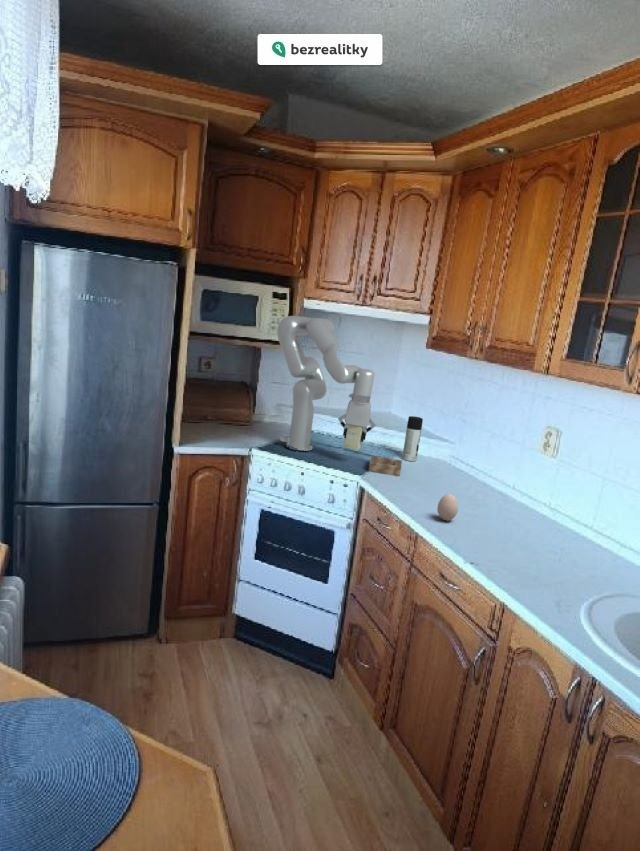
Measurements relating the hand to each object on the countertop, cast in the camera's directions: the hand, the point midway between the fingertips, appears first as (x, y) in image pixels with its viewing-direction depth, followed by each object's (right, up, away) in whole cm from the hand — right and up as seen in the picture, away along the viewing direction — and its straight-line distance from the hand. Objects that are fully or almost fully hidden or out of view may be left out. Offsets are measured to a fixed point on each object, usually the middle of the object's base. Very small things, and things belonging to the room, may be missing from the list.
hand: (353, 439), depth 242 cm
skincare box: (-1, -4, +1) cm, 4 cm away
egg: (+28, -26, -52) cm, 64 cm away
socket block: (+13, -13, 0) cm, 19 cm away
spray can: (+27, -10, +22) cm, 36 cm away
